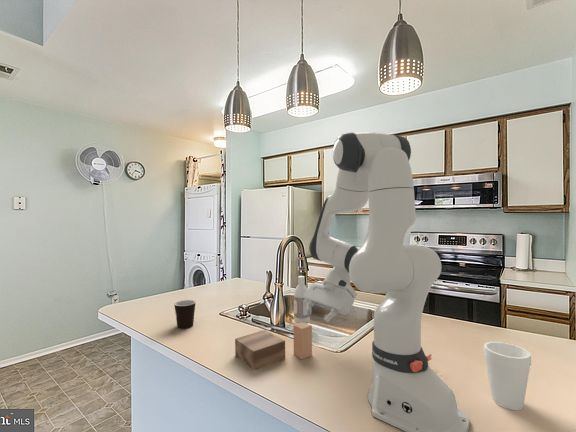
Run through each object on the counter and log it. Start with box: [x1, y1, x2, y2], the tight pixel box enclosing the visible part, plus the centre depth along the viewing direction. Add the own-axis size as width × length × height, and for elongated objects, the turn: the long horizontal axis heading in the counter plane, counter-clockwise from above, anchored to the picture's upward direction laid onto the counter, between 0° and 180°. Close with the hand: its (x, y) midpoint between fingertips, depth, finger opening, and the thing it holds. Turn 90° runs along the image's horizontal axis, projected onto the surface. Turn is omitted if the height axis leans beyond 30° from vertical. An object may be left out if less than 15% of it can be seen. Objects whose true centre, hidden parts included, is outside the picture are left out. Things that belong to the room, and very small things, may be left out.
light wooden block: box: [292, 322, 313, 360], centre depth 100 cm, size 4×4×10 cm
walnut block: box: [234, 329, 286, 371], centre depth 99 cm, size 12×12×6 cm
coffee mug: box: [174, 299, 196, 330], centre depth 129 cm, size 12×9×10 cm
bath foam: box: [293, 275, 311, 324], centre depth 131 cm, size 7×7×20 cm
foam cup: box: [483, 340, 532, 411], centre depth 74 cm, size 10×9×13 cm
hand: (316, 317), depth 104 cm, fingers open, 8 cm apart
